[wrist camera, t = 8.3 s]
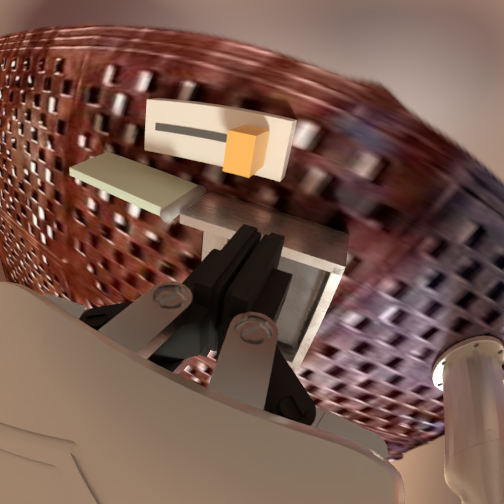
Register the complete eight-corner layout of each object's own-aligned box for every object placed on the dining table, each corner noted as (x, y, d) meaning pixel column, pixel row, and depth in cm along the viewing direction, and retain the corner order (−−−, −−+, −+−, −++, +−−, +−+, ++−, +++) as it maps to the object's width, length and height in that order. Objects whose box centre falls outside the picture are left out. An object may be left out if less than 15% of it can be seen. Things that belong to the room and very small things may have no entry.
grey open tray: (349, 233, 30) (345, 267, 24) (308, 333, 39) (297, 369, 33) (210, 191, 33) (180, 214, 27) (201, 294, 42) (179, 324, 36)
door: (205, 197, 33) (171, 224, 27) (107, 159, 35) (68, 177, 29) (207, 187, 32) (172, 212, 26) (108, 150, 34) (68, 166, 28)
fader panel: (296, 119, 26) (292, 121, 24) (285, 176, 29) (279, 182, 27) (157, 98, 29) (146, 99, 27) (154, 146, 32) (143, 150, 30)
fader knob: (270, 129, 25) (256, 136, 22) (263, 166, 27) (249, 177, 24) (245, 124, 25) (227, 130, 22) (239, 160, 27) (222, 171, 24)
